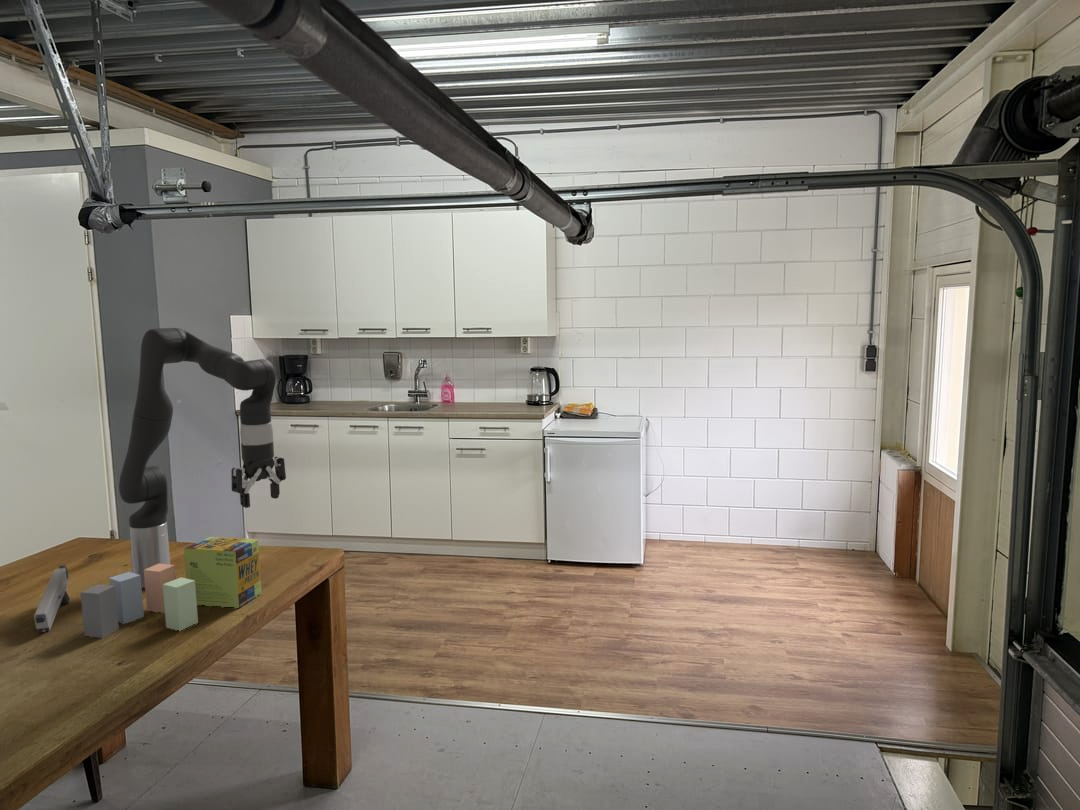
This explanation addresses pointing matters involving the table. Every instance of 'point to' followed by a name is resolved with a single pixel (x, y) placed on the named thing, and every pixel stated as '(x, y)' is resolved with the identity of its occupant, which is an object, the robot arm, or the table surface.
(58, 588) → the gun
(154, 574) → the terracotta block
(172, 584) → the sage block
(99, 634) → the grey tall block
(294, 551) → the table surface
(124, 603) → the slate block
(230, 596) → the protein box
